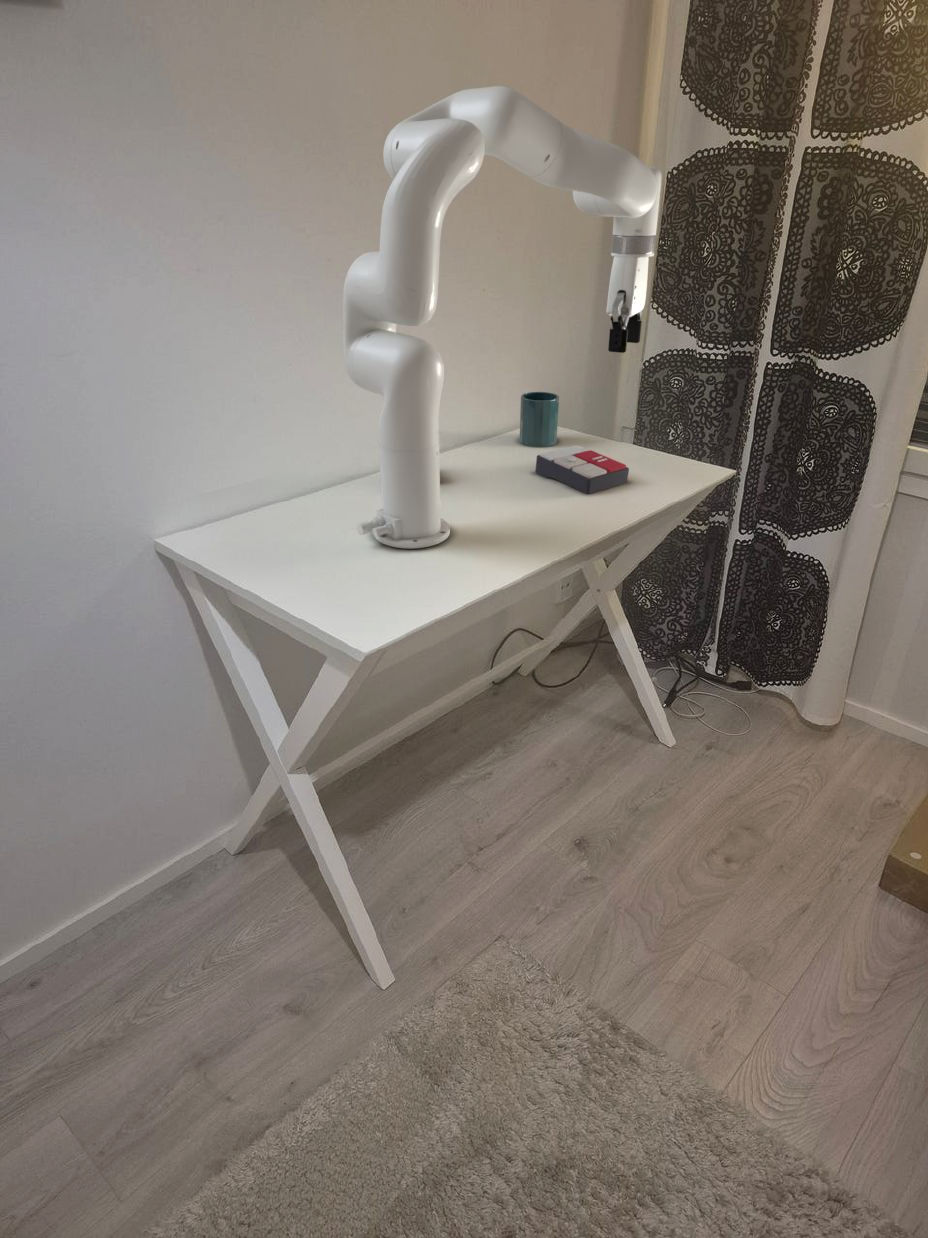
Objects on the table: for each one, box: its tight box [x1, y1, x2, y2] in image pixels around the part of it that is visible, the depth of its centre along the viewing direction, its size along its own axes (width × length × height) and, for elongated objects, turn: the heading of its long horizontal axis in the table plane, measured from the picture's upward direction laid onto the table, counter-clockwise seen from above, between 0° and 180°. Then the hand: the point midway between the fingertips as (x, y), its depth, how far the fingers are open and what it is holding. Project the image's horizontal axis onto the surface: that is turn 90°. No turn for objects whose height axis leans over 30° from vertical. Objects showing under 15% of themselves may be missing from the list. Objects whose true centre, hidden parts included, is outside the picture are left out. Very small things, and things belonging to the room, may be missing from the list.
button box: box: [535, 444, 630, 495], centre depth 157 cm, size 11×4×15 cm
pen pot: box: [519, 391, 560, 448], centre depth 177 cm, size 8×8×10 cm
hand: (624, 346), depth 150 cm, fingers open, 9 cm apart
